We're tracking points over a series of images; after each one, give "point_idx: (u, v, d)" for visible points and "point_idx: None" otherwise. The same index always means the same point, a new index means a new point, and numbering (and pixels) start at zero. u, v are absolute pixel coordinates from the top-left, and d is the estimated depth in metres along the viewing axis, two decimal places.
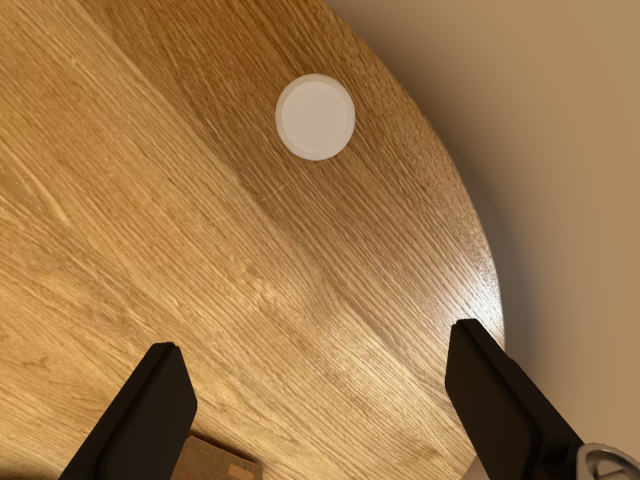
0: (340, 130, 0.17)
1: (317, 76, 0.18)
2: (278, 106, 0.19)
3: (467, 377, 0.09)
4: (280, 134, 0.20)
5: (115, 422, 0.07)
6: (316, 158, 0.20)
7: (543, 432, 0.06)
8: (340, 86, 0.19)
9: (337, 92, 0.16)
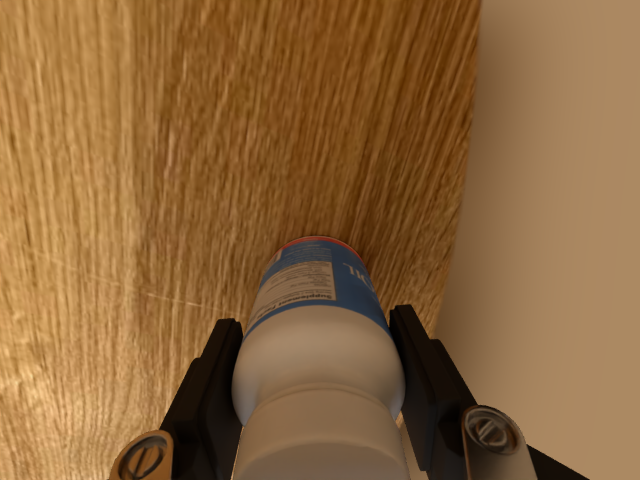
0: None
1: (390, 364, 0.08)
2: (283, 340, 0.08)
3: None
4: (240, 373, 0.08)
5: (204, 381, 0.08)
6: None
7: (438, 396, 0.07)
8: (403, 400, 0.09)
9: None
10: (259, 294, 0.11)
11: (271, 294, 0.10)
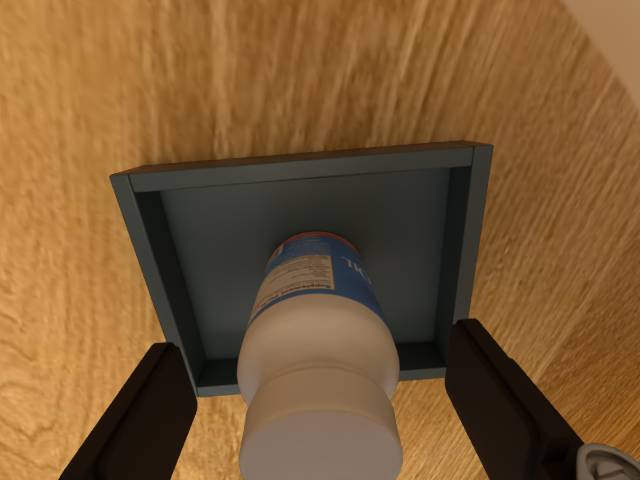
0: None
1: (384, 347, 0.09)
2: (286, 324, 0.08)
3: (467, 377, 0.09)
4: (245, 356, 0.09)
5: (115, 422, 0.07)
6: None
7: (543, 432, 0.06)
8: (396, 382, 0.09)
9: (398, 468, 0.07)
10: (262, 286, 0.12)
11: (273, 285, 0.11)
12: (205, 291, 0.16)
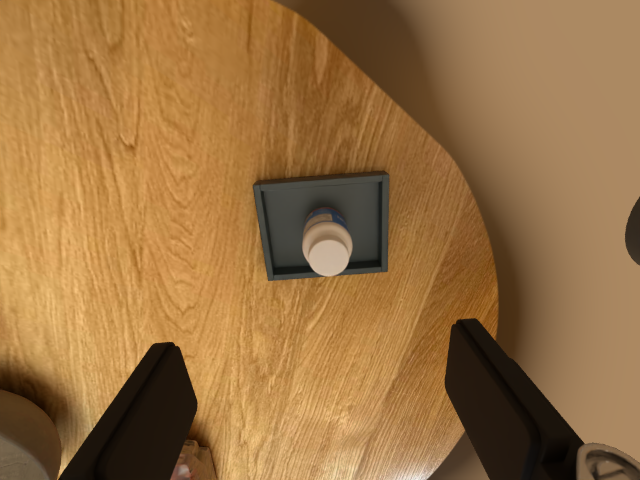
0: (333, 272, 0.29)
1: (346, 236, 0.30)
2: (318, 228, 0.30)
3: (467, 377, 0.09)
4: (306, 238, 0.30)
5: (115, 422, 0.07)
6: None
7: (543, 432, 0.06)
8: (351, 248, 0.31)
9: (347, 259, 0.29)
10: (306, 224, 0.34)
11: (312, 222, 0.32)
12: (277, 233, 0.38)
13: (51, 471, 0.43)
